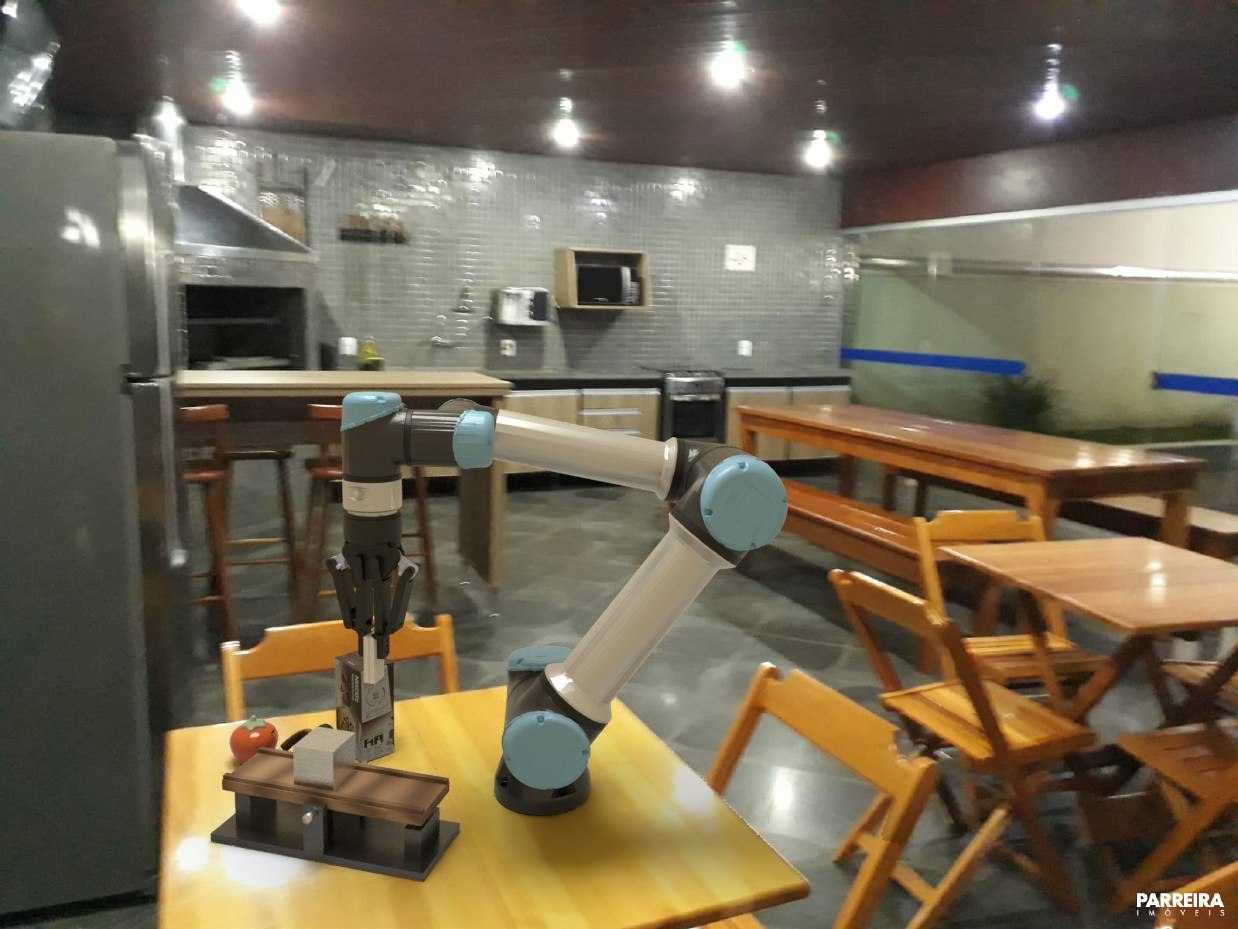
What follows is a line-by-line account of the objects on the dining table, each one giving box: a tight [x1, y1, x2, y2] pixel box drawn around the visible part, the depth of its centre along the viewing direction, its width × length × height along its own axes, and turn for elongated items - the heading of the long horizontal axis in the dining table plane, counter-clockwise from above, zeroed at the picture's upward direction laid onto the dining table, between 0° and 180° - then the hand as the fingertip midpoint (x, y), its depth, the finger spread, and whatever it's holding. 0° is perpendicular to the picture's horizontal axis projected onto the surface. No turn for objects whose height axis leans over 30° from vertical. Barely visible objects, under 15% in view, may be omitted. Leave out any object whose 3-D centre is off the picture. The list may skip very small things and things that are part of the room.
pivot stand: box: [210, 761, 461, 883], centre depth 122 cm, size 32×15×8 cm, turn 77°
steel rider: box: [292, 726, 357, 792], centre depth 121 cm, size 6×6×6 cm
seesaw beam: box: [221, 747, 450, 826], centre depth 122 cm, size 30×9×2 cm, turn 77°
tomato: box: [229, 714, 279, 765], centre depth 142 cm, size 7×7×8 cm
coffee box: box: [333, 649, 395, 763], centre depth 147 cm, size 9×6×16 cm
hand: (374, 679), depth 118 cm, fingers closed
